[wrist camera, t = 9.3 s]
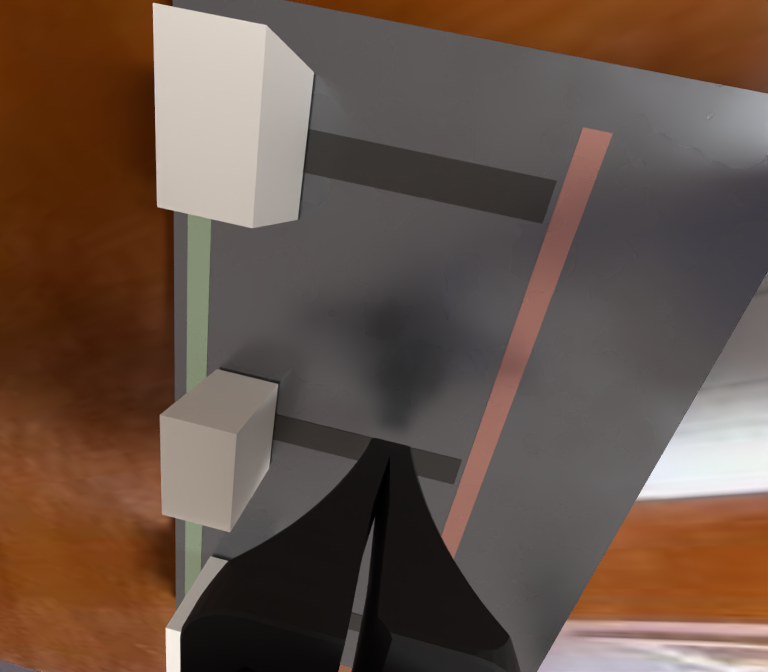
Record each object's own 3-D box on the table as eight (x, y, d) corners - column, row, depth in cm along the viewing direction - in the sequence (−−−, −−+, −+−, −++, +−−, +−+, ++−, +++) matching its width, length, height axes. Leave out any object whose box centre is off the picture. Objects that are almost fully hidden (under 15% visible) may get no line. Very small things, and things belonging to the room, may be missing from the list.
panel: (821, 118, 10) (860, 111, 9) (509, 688, 20) (513, 712, 19) (194, -4, 11) (172, -22, 10) (187, 600, 21) (175, 619, 20)
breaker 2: (313, 72, 11) (266, 25, 8) (297, 219, 12) (252, 228, 9) (231, 55, 11) (152, 2, 8) (225, 203, 12) (156, 206, 9)
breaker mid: (278, 384, 14) (236, 434, 11) (269, 468, 16) (230, 532, 13) (216, 369, 14) (159, 414, 11) (213, 454, 16) (161, 514, 13)
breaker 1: (259, 569, 18) (223, 643, 15) (253, 623, 19) (220, 701, 16) (210, 556, 18) (165, 627, 15) (207, 611, 19) (167, 686, 17)
